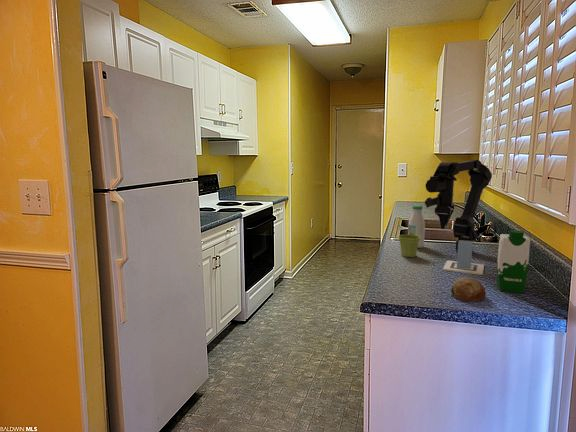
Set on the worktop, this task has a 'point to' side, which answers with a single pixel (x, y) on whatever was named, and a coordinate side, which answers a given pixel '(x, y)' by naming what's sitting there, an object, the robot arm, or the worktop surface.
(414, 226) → the milk bottle
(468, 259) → the blue block
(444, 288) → the worktop surface
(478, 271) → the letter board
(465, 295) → the bread roll
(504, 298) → the worktop surface
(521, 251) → the milk carton
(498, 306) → the worktop surface
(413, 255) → the plant pot
